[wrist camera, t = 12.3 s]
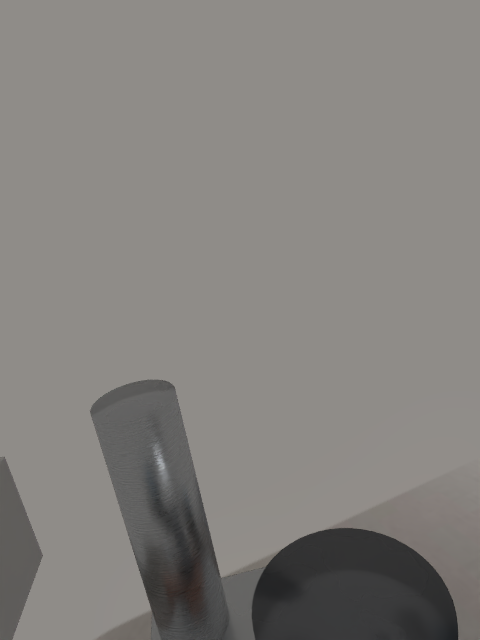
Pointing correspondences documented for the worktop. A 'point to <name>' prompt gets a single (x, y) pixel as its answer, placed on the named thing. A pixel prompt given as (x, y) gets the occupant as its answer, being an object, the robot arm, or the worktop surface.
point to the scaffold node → (169, 517)
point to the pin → (351, 591)
